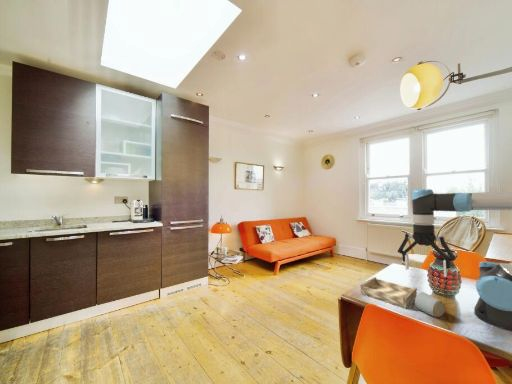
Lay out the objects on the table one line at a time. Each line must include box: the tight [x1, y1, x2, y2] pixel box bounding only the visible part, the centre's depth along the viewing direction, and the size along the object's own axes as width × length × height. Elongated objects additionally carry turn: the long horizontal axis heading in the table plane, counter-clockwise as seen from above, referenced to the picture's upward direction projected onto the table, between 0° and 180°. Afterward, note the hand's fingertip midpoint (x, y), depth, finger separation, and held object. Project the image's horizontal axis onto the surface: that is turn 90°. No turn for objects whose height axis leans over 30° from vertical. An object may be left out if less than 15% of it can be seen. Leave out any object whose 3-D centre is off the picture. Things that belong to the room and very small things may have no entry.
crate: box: [359, 276, 418, 309], centre depth 112 cm, size 20×17×5 cm
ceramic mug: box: [414, 291, 446, 318], centre depth 96 cm, size 11×8×8 cm
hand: (425, 272), depth 97 cm, fingers open, 13 cm apart
